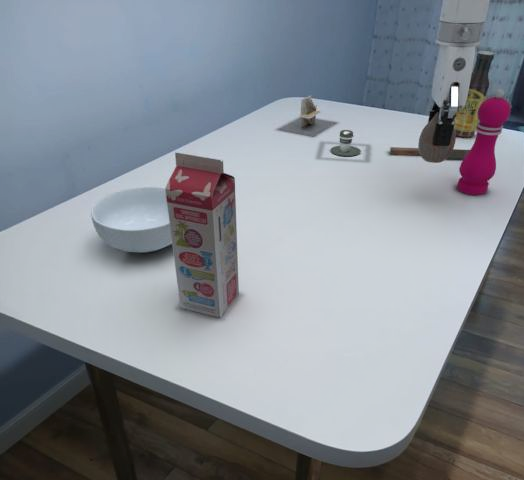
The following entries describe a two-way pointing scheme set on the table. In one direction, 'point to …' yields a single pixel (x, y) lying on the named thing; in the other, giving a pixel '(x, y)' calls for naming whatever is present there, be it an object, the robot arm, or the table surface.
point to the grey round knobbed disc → (345, 145)
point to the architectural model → (307, 120)
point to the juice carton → (203, 234)
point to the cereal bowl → (133, 219)
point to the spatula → (454, 155)
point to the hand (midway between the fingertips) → (437, 138)
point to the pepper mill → (484, 146)
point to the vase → (426, 146)
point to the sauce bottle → (474, 96)
